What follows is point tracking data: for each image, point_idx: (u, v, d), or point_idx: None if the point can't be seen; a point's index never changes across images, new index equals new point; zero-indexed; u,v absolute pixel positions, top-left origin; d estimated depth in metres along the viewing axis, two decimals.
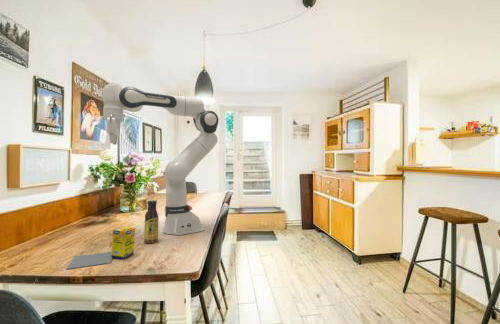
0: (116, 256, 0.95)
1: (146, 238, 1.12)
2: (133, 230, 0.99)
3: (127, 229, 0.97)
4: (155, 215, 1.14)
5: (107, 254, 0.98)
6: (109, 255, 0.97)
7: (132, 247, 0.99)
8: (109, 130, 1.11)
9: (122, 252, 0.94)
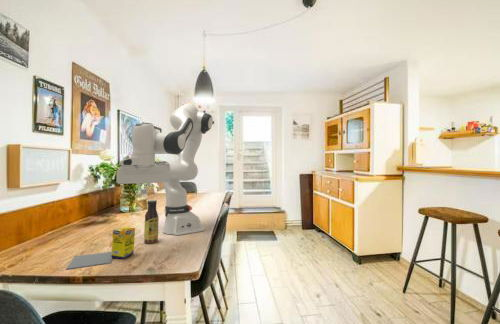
0: (116, 256, 0.95)
1: (146, 238, 1.12)
2: (133, 230, 0.99)
3: (127, 229, 0.97)
4: (155, 215, 1.14)
5: (107, 254, 0.98)
6: (109, 255, 0.97)
7: (132, 247, 0.99)
8: (168, 179, 1.04)
9: (122, 252, 0.94)
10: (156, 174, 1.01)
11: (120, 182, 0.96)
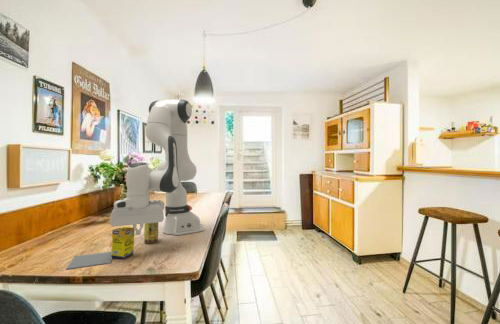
0: (116, 256, 0.95)
1: (146, 238, 1.12)
2: (132, 230, 0.99)
3: (126, 229, 0.97)
4: None
5: (107, 254, 0.98)
6: (109, 255, 0.97)
7: (132, 247, 0.99)
8: (163, 219, 1.03)
9: (122, 252, 0.94)
10: (151, 214, 1.00)
11: (114, 225, 0.95)
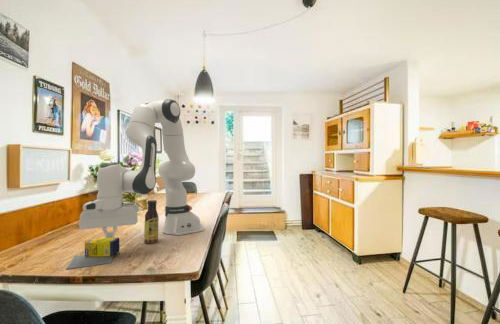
0: (110, 250, 0.96)
1: (146, 238, 1.12)
2: (93, 238, 1.00)
3: None
4: (155, 215, 1.14)
5: None
6: None
7: (111, 238, 1.01)
8: (137, 221, 0.99)
9: (105, 244, 0.96)
10: (123, 216, 0.96)
11: (83, 227, 0.91)
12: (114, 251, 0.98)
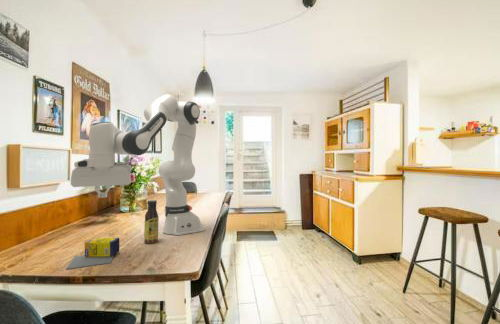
0: (110, 250, 0.96)
1: (146, 238, 1.12)
2: (93, 238, 1.00)
3: None
4: (155, 215, 1.14)
5: None
6: None
7: (110, 238, 1.01)
8: (130, 182, 0.98)
9: (105, 244, 0.96)
10: (116, 176, 0.95)
11: (75, 185, 0.90)
12: (114, 251, 0.98)
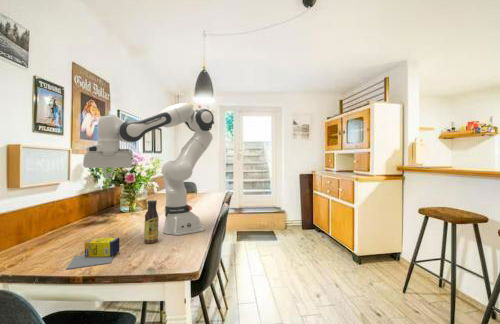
0: (110, 250, 0.96)
1: (146, 238, 1.12)
2: (93, 238, 1.00)
3: None
4: (155, 215, 1.14)
5: None
6: None
7: (110, 238, 1.01)
8: (131, 165, 1.19)
9: (105, 244, 0.96)
10: (120, 159, 1.16)
11: (86, 166, 1.11)
12: (114, 251, 0.98)
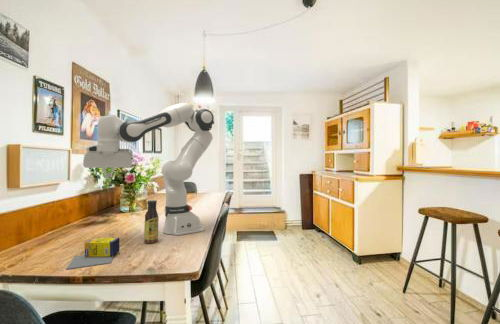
0: (110, 250, 0.96)
1: (146, 238, 1.12)
2: (93, 238, 1.00)
3: None
4: (155, 215, 1.14)
5: None
6: None
7: (110, 238, 1.01)
8: (131, 165, 1.19)
9: (105, 244, 0.96)
10: (120, 159, 1.16)
11: (86, 166, 1.11)
12: (114, 251, 0.98)
